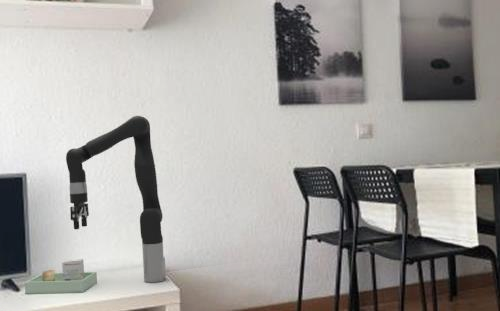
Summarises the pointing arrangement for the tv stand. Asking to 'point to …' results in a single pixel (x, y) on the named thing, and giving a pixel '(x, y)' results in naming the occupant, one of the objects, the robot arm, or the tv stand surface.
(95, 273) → the tote
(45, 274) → the beech cylinder
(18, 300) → the tv stand surface
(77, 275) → the ink box
